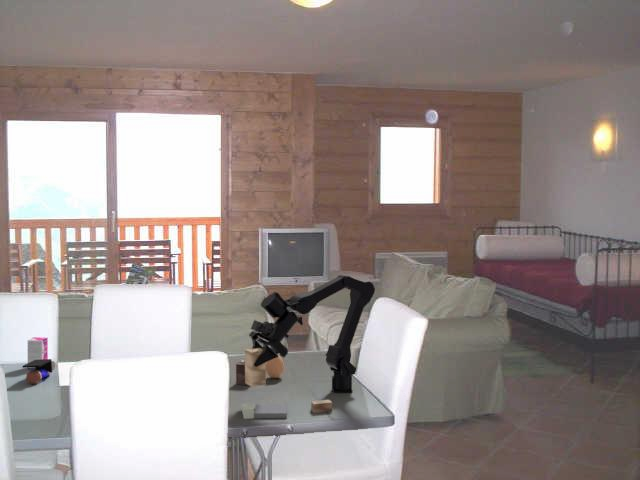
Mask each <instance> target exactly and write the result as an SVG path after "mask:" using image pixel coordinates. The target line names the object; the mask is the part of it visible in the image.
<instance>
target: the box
mask: <svg viewBox="0 0 640 480" xmlns="http://www.w3.org/2000/svg"><path fill="white" fill-rule="evenodd" d="M235 382H236V383H235V384H236V385H246V386H249V385H248V384H246V383H245V360H239V361H238V362H237V363H236V364H235Z"/></svg>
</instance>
